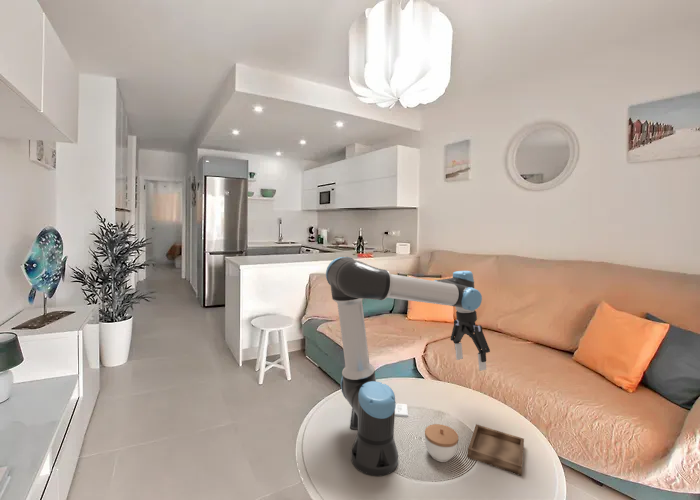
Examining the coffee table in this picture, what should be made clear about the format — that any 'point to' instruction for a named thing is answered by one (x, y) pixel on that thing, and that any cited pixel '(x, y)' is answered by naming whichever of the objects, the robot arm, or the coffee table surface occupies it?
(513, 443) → the walnut tray
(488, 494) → the coffee table surface
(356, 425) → the phone
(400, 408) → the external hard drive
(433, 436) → the lidded jar
